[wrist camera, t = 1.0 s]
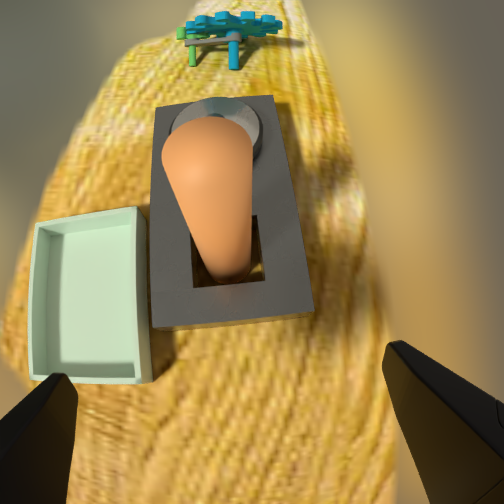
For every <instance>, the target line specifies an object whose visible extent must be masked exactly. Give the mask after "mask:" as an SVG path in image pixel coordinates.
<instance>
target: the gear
mask: <svg viewBox="0 0 504 504" xmlns="http://www.w3.org/2000/svg"><path fill="white" fill-rule="evenodd" d="M281 29H282V21H280V20H275V16H272V15H262V16H261V18H260V19H255V12H254V11H242V12H241V17H238V16H233V15H231V14H230V13H229V12H228V11H222V12H217V13H215V17H209V16H206V15H199V16H197V17H195V21H187V22H186V27H178V28H177V40H184V39H186V40H185V47H189V66H196V47H198V46H207V45H218V44H229V69H230V70H235V69H239V43H240V42H242V39H244V38H248V35H250V36H255V37H264V36H266V33H268V34H277V33H278V30H281ZM186 31H187V35H186ZM210 35H217V38H213V39H207V38H209V37H210ZM200 39H204V40H200Z"/></svg>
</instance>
